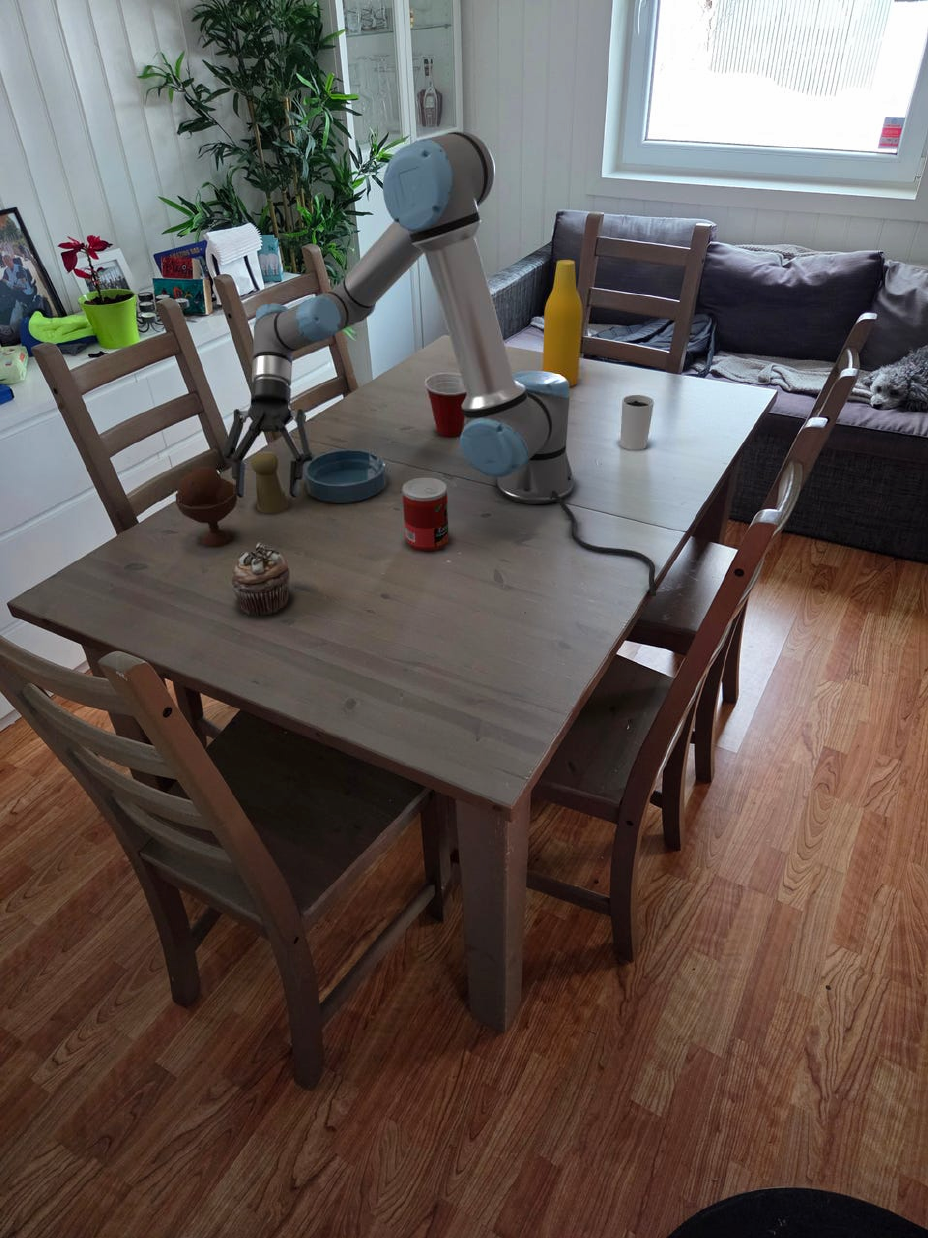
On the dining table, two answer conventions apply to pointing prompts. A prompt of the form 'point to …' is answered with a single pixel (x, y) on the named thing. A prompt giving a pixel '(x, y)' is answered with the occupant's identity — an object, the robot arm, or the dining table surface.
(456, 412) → the plastic cup
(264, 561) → the cupcake
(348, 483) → the bowl
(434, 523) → the canned food
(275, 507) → the olive game pawn
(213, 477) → the ice cream bowl
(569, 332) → the beer bottle
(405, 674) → the dining table surface
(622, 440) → the white coffee cup
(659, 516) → the dining table surface
